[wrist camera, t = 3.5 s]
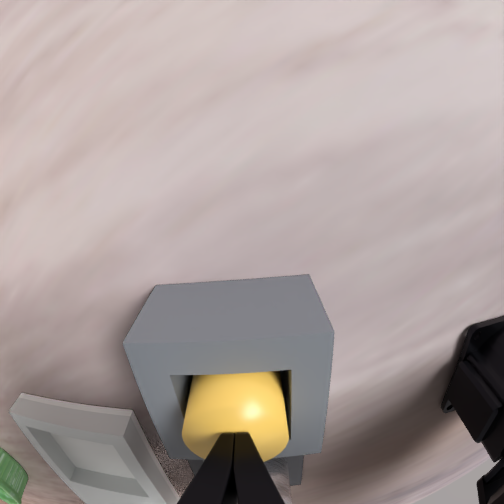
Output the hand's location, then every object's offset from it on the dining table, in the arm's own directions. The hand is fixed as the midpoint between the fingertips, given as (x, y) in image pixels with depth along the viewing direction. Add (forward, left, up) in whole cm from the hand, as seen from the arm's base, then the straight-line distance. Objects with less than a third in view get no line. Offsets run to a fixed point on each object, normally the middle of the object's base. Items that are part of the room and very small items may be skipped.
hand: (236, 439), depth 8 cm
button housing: (0, 0, -5) cm, 5 cm away
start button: (0, 0, -4) cm, 4 cm away
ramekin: (+28, +17, -6) cm, 33 cm away
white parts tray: (+11, +14, -5) cm, 18 cm away
